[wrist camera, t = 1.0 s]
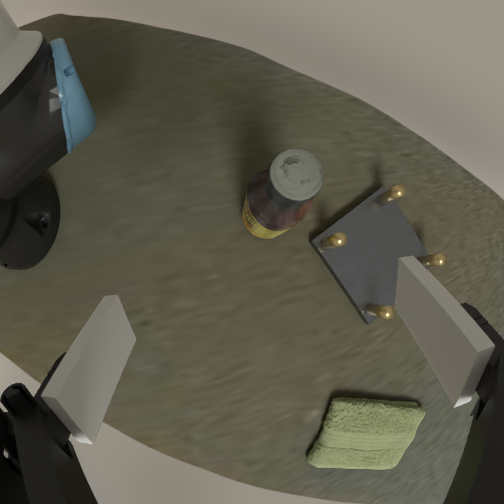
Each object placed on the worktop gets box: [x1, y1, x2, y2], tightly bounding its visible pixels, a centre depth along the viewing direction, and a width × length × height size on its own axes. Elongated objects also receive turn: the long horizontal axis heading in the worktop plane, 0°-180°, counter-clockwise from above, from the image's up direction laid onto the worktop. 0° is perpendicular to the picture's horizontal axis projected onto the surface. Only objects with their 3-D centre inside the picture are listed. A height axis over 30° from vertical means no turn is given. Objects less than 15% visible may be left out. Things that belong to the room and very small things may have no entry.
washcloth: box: [307, 397, 426, 470], centre depth 39 cm, size 13×18×3 cm
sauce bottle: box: [242, 148, 323, 239], centre depth 31 cm, size 6×6×20 cm
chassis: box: [310, 184, 447, 324], centre depth 39 cm, size 14×14×6 cm
